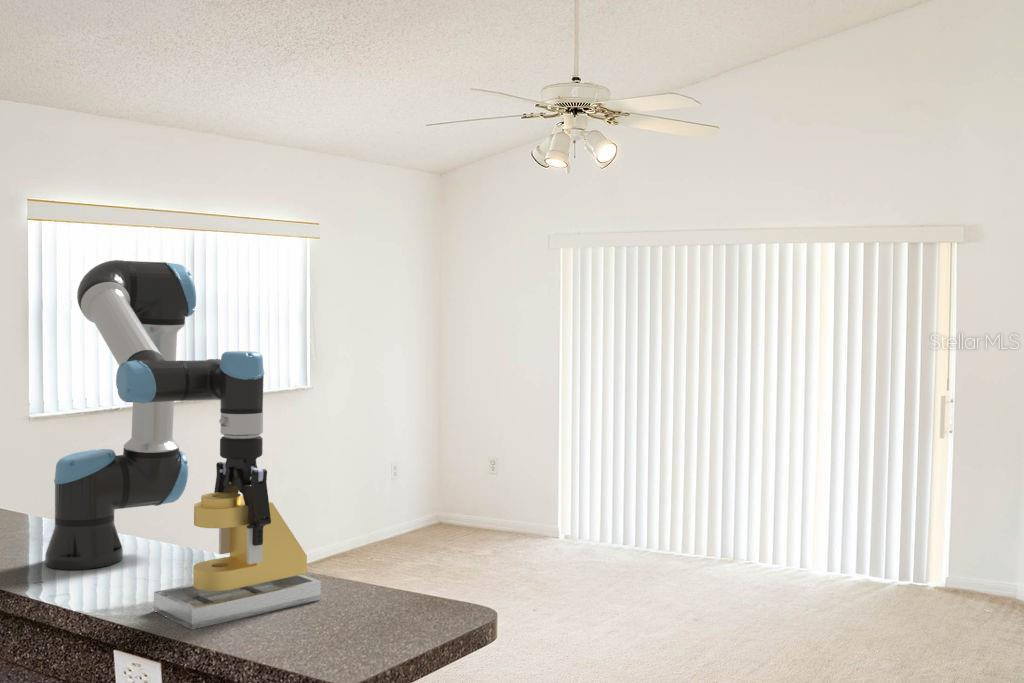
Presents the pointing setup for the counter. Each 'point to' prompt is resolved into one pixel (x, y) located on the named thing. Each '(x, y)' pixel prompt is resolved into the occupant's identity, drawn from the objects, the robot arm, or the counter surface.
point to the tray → (234, 601)
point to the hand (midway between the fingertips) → (240, 557)
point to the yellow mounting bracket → (245, 546)
